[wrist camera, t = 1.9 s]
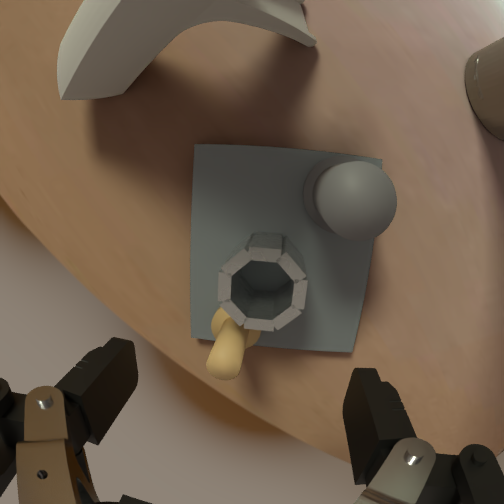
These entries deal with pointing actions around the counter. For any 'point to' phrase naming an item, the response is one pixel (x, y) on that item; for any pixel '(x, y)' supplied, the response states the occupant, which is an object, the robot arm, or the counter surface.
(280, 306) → the tube
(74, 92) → the faucet
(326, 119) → the counter surface
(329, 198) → the board
